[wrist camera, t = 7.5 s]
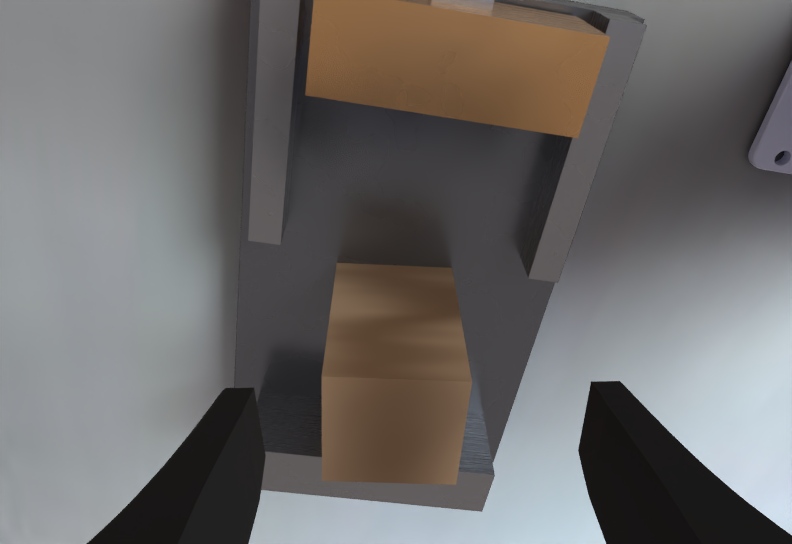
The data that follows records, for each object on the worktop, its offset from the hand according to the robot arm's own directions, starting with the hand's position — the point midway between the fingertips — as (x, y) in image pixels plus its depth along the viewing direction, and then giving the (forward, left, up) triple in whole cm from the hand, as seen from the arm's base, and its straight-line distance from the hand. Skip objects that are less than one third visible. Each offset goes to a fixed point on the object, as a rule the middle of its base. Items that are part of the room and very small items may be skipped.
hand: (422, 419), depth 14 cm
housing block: (0, +3, -9) cm, 9 cm away
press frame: (0, +1, -10) cm, 10 cm away
